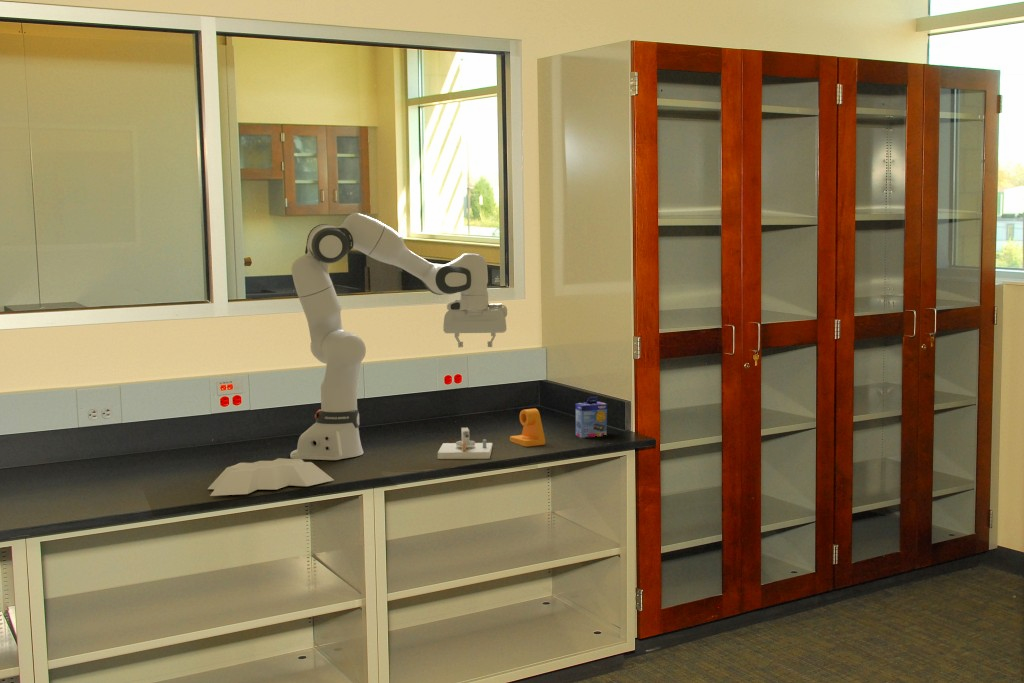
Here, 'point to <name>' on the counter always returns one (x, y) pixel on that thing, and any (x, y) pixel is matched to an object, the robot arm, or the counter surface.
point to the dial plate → (465, 451)
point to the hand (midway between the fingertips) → (475, 347)
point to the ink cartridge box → (591, 418)
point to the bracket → (530, 429)
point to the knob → (465, 439)
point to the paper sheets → (267, 476)
